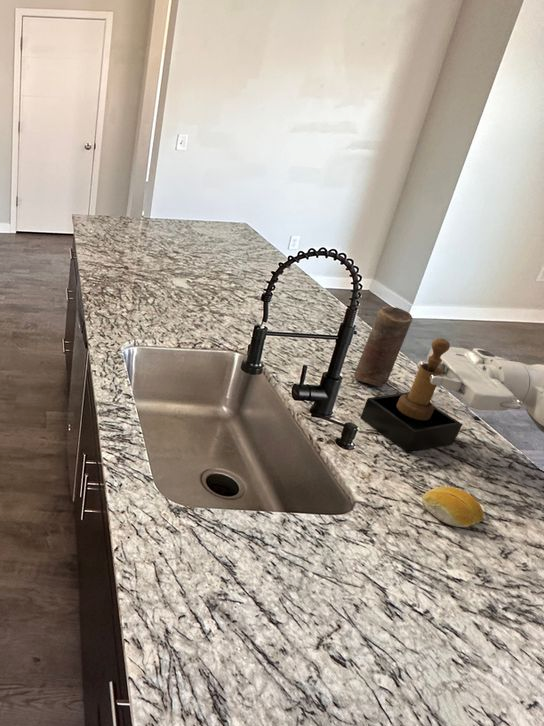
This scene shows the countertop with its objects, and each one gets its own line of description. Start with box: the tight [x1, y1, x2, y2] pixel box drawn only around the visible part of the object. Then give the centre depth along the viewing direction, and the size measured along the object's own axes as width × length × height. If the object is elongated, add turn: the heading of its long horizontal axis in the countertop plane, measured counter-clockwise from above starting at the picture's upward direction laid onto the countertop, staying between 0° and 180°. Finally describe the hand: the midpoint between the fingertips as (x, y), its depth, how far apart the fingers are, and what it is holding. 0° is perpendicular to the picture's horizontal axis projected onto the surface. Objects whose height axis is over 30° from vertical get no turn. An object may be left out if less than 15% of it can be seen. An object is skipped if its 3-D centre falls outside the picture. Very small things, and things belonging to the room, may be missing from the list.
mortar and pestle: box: [397, 337, 451, 420], centre depth 114 cm, size 7×6×18 cm
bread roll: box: [421, 486, 484, 528], centre depth 98 cm, size 8×9×4 cm
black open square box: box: [360, 391, 463, 454], centre depth 119 cm, size 13×13×6 cm
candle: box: [353, 306, 413, 387], centre depth 135 cm, size 8×7×20 cm
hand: (424, 372), depth 114 cm, fingers closed on mortar and pestle, 4 cm apart
